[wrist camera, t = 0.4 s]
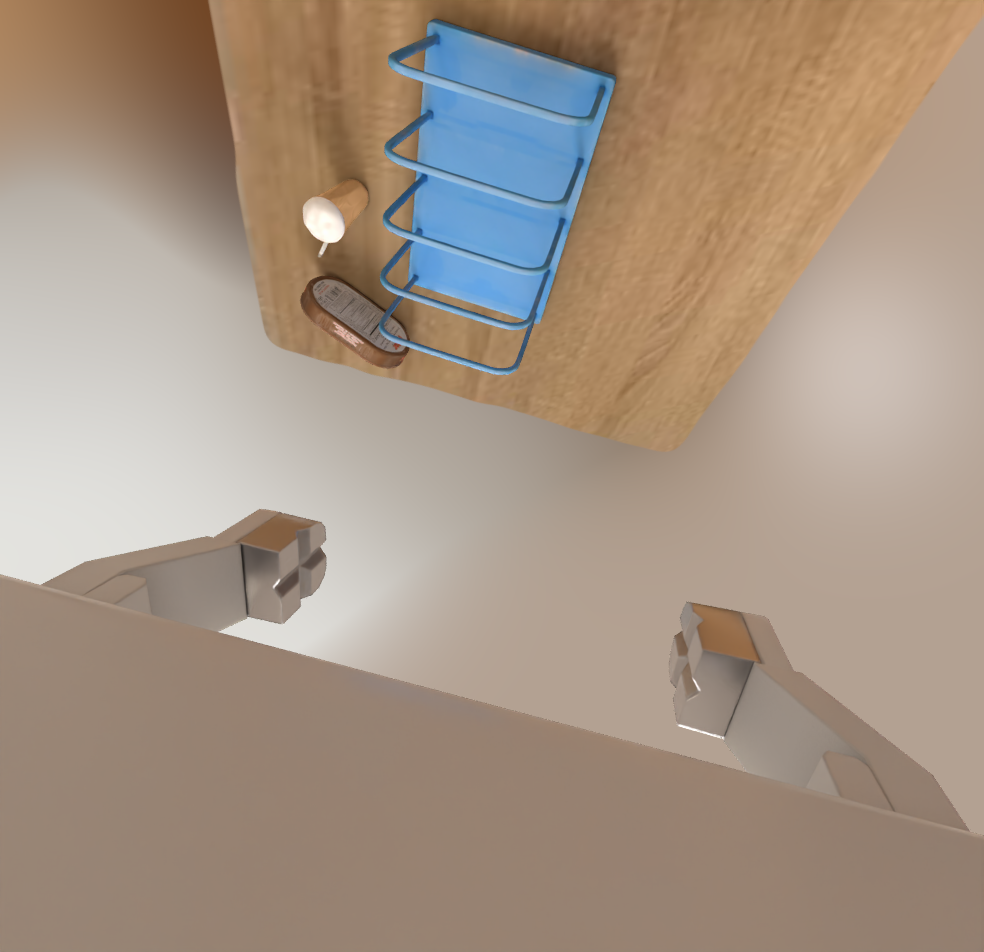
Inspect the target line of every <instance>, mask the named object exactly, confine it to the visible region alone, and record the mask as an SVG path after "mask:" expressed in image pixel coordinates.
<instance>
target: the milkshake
mask: <svg viewBox="0 0 984 952" xmlns="http://www.w3.org/2000/svg"><path fill="white" fill-rule="evenodd" d="M368 202H369V201H368V192H367V190H366V189H365V187H364V185H363V184H362V183H360V182H359V181H357V180H355V179H351V180H346V181H344V182H342V183H340V184H338V185H336V186H335V187H333V188H331V189H329V190H327V191H325V192H323V193H321V194H319V195H317V196H315V197H313V198H311V199H309V200H308V201H307V202H306V203H305V205H304V207H303V219H304V223H305V225H306V227H307V228H308V229H309V231H310V232H311V233H312V235H313V236H314V237H316V238H317V239H319V240H321V241H324V243H323V245H322V248H321V250H320V252H319V254H318V257H322V255H323V253H324V251H325V249H326V247H327V245H328V243H334V242H337V241H339V240H340V239H341V238H342V236H343V235H344V234H345V232H346V231H347V230H348V228H349V227H350V225H351V224H352V222H353V221H354V220H355V219H356V218H357V216H358V215H359V214H360V213H361V212H362V211H363V209H364V208H365V206H366V205H367V204H368Z"/></svg>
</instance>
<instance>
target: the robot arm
mask: <svg viewBox="0 0 984 952" xmlns="http://www.w3.org/2000/svg"><path fill="white" fill-rule="evenodd" d="M325 541H326V532H325V526H324V525H323V524H322V523H321V522H318V521H314V520H310V519H306V518H301V517H297V516H293V515H289V514H285V513H284V514H283V513H281V512H276V511H271V510H266V509H259V510H257V511H256V512H254V513H253V514H251V515H249V516H248V517H246V518H244V519H243V520H241V521H240V522H238V523H236V524H235V525H233V526H231V527H230V528H228V529H227V530H225V531H223V532H222V533H220V534H218V535H217V536H216V537H214V538H213V537H208V536H206V537H201V538H197V539H192V540H187V541H182V542H178V543H173V544H168V545H164V546H159V547H154V548H149V549H144V550H139V551H134V552H130V553H125V554H120V555H115V556H111V557H106V558H101V559H97V560H91V561H87V562H84V563H82V564H80V565H78V566H76V567H74V568H73V569H71V570H69V571H67V572H65V573H63V574H61V575H59V576H57V577H55V578H53V579H51V580H49V581H47V582H45V583H43V584H42V585H38V584H34V583H31V582H27V581H23V580H19V579H16V578H12V577H8V576H4V575H0V952H984V835H980V834H976V833H973V832H970V831H969V829H968V828H967V826H966V825H965V823H964V822H963V820H962V819H961V817H960V816H959V814H958V813H957V811H956V810H955V808H954V807H953V805H952V803H951V802H950V801H949V799H948V797H947V796H946V795H945V793H944V791H943V790H942V788H941V787H940V785H939V784H938V782H937V781H936V779H935V778H934V776H933V775H932V774H931V773H929V772H928V771H927V770H925V769H924V768H923V767H922V766H920V765H919V764H918V763H916V762H915V761H914V760H913V759H911V758H910V757H909V756H908V755H906V754H905V753H904V752H902V751H901V750H900V749H898V748H897V747H896V746H895V745H893V744H892V743H891V742H890V741H888V740H887V739H886V738H885V737H883V736H882V735H881V734H879V733H878V732H877V731H876V730H874V729H873V728H872V727H870V726H869V725H868V724H867V723H865V722H864V721H863V720H862V719H860V718H859V717H858V716H856V715H855V714H854V713H853V712H851V711H850V710H849V709H847V708H846V707H845V706H844V705H842V704H841V703H840V702H839V701H837V700H836V699H835V698H833V697H832V696H831V695H829V694H828V693H827V692H826V691H824V690H823V689H822V688H821V687H819V686H818V685H817V684H815V683H814V682H813V681H811V680H810V679H809V678H808V677H806V676H805V675H804V674H803V673H800V672H795V671H794V670H793V669H792V666H791V664H790V662H789V660H788V658H787V656H786V654H785V652H784V650H783V648H782V646H781V644H780V642H779V640H778V638H777V636H776V634H775V632H774V630H773V627H772V625H771V623H770V621H769V619H767V618H766V617H765V616H761V615H755V614H750V613H744V612H738V611H733V610H728V609H723V608H717V607H712V606H707V605H701V604H696V603H691V602H687V603H686V604H685V606H684V608H683V611H682V614H681V617H680V620H681V626H682V631H681V632H680V633H678V634H677V635H675V636H674V640H673V644H672V648H671V653H670V660H669V674H670V682H671V683H672V684H673V685H674V686H675V688H676V691H675V694H674V697H673V702H674V708H675V715H676V721H677V726H681V727H684V728H688V729H691V730H695V731H698V732H702V733H705V734H709V735H712V736H716V737H719V738H723V739H724V742H725V743H726V745H727V746H728V747H729V749H730V750H731V751H732V753H733V754H734V756H735V757H736V758H737V759H738V761H739V762H740V763H741V765H742V766H743V767H744V769H745V770H746V771H747V772H743V771H739V770H736V769H732V768H728V767H724V766H721V765H717V764H713V763H709V762H705V761H702V760H698V759H694V758H691V757H687V756H682V755H679V754H675V753H672V752H668V751H664V750H660V749H657V748H653V747H649V746H645V745H642V744H638V743H634V742H630V741H626V740H622V739H619V738H615V737H611V736H608V735H604V734H600V733H596V732H593V731H588V730H585V729H581V728H577V727H574V726H570V725H566V724H562V723H559V722H555V721H551V720H547V719H543V718H539V717H536V716H532V715H528V714H525V713H521V712H517V711H513V710H509V709H506V708H502V707H498V706H494V705H491V704H487V703H483V702H479V701H475V700H472V699H468V698H464V697H460V696H457V695H453V694H449V693H445V692H442V691H438V690H434V689H430V688H426V687H423V686H419V685H415V684H411V683H407V682H404V681H400V680H396V679H392V678H388V677H385V676H381V675H377V674H374V673H370V672H366V671H362V670H358V669H354V668H351V667H347V666H344V665H340V664H336V663H332V662H328V661H325V660H321V659H317V658H313V657H309V656H306V655H302V654H298V653H294V652H291V651H287V650H283V649H279V648H276V647H272V646H268V645H264V644H260V643H257V642H253V641H249V640H246V639H242V638H238V637H234V636H230V635H227V634H223V633H219V632H218V631H221V630H223V629H225V628H227V627H229V626H232V625H234V624H236V623H238V622H240V621H243V620H245V619H247V617H252V618H256V619H261V620H265V621H269V622H274V623H278V624H284V623H285V622H286V621H287V620H288V619H289V618H290V617H291V616H292V615H293V614H294V613H295V612H296V611H297V610H298V609H299V608H300V606H301V602H300V599H302V598H305V597H308V596H311V595H312V594H313V593H314V592H315V591H316V590H317V589H318V588H319V586H320V584H321V582H322V580H323V578H324V575H325V571H326V555H325V554H324V552H323V551H322V549H321V548H320V546H321V545H322V544H323V543H324V542H325Z"/></svg>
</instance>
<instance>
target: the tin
mask: <svg viewBox="0 0 984 952" xmlns="http://www.w3.org/2000/svg"><path fill="white" fill-rule="evenodd" d="M300 300H301V307H302V309H303V311H304V313H305V315H306V316H307V317H308V318H309V320H310V321H311V322H312V323H314V324H315V325H316V326H317V327H319V328H320V329H322V330H323V331H324V332H326V333H327V334H329V335H330V336H331V337H333V338H334V339H336V340H337V341H339V342H340V343H342V344H343V345H344V346H346V347H347V348H349V349H350V350H351V351H353V352H354V353H355V354H357V355H358V356H360V357H361V358H362V359H364V360H365V361H367V362H368V363H370V364H372V365H375V366H378V367H381V368H394V367H397V366H399V365H400V364H401V363H402V361H403V359H404V357H405V356H406V354H407V353H408V351H409V348H410V347H407V346H404V345H400V344H398V343H395V342H392V341H390V340H388V339H387V338H386V337H384V336H383V335H382V334H381V332H380V330H379V322H380V320H381V318H382V317H383V315H384V314H385V311H384V310H383V309H381V308H380V307H379V306H377V305H376V304H375V303H373V302H372V301H371V300H369V299H368V298H367V297H365V296H364V295H363V294H361V293H360V292H359V291H357V290H356V289H355V288H353V287H352V286H351V285H349V284H348V283H346V282H344V281H342V280H340V279H337V278H334V277H330V276H319V277H316V278H314V279H312V280H311V281H310V282H309V283H308V285H307V287H306V289H305V291H304V292H303V294H302V295H301V299H300ZM384 327H385V329H386V330H387V331H388V332H389V333H390V334H392V335H394V336H397V337H399V338H402V339H406V340H408V341H410V339H409V336H408V334H407V332H406V330H405V329H404V327H403V326H402V325H401V324H400V323H399V322H398V321H397V320H396V319H395V318H393V317H392V316H391V315H390V317H389V318H388V319H387V321H386V322H385V324H384Z"/></svg>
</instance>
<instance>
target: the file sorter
mask: <svg viewBox="0 0 984 952" xmlns="http://www.w3.org/2000/svg"><path fill="white" fill-rule="evenodd" d="M424 49H426V50H425V63H424V71H421V70H418V69H415V68H412V67H409V66H406V65H404V64H402V63H400V61H402V60H404V59H406V58H408V57H410V56H412V55H414V54H416V53H418V52H420V51H422V50H424ZM388 64H389V66H390V67H391V69H393V70H394V71H396V72H398V73H400V74H402V75H404V76H407V77H410V78H413V79H416V80H419V81H422V82H423V91H422V104H421V116H420V117H419V118H418V119H416V120H415V121H414V122H412V123H411V124H410V125H408V126H407V127H406V128H404V129H403V130H402V131H400V132H399V133H398V134H396V135H395V136H394V137H392V138H391V139H390V140H389V141H388V142H386V144H385V154H386V156H387V157H388V158H389V159H390V160H391V161H393V162H394V163H397V164H399V165H401V166H404V167H407V168H410V169H413V170H416V182H414V183H413V184H412V185H411V186H410V187H409V188H408V189H407V190H406V191H405V192H404V193H403V194H402V195H401V196H400V197H399V198H398V199H397V200H396V201H395V202H394V203H393V204H392V205H391V206H390V207H389V208H388V209H387V210H386V211H385V213H384V215H383V224H384V226H385V227H386V228H387V229H388V230H389V231H391V232H392V233H394V234H396V235H398V236H401V237H404V238H407V239H408V240H407V242H406V243H405V244H404V245H403V246H402V247H401V248H400V250H399V251H398V252H397V253H396V254H395V255H394V256H393V258H392V259H391V260H390V261H389V262H388V264H387V265H386V266H385V267H384V268H383V270H382V271H381V274H380V281H381V283H382V285H383V286H384V287H385V288H386V289H387V290H389V291H390V292H392V293H394V294H397V295H398V297H397V298H396V299H395V300H394V302H393V303H392V304H391V306H390V307H389V308H388V310H387V311H386V312H385V314H384V315H383V317H382V318H381V320H380V322H379V330H380V332H381V334H382V335H383V336H384V337H386V338H387V339H388V340H390V341H392V342H395V343H398V344H400V345H404V346H407V347H410V348H413V349H416V350H419V351H422V352H425V353H428V354H431V355H434V356H437V357H440V358H444V359H447V360H450V361H453V362H456V363H459V364H462V365H466V366H469V367H472V368H475V369H478V370H481V371H485V372H488V373H492V374H497V375H505V374H510V373H513V372H514V371H516V370H517V369H518V367H519V365H520V363H521V360H522V357H523V354H524V351H525V348H526V346H527V343H528V340H529V337H530V334H531V331H532V328H533V325H534V323H536V324H538V323H540V321H541V319H542V316H543V313H544V309H545V306H546V303H547V299H548V296H549V293H550V290H551V287H552V283H553V280H554V277H555V274H556V271H557V268H558V264H559V261H560V258H561V255H562V252H563V248H564V245H565V242H566V239H567V236H568V233H569V229H570V226H571V223H572V220H573V217H574V214H575V210H576V207H577V204H578V201H579V198H580V194H581V191H582V188H583V185H584V182H585V179H586V175H587V172H588V169H589V166H590V163H591V159H592V156H593V153H594V150H595V147H596V144H597V140H598V137H599V134H600V131H601V128H602V124H603V121H604V118H605V115H606V112H607V109H608V105H609V102H610V99H611V96H612V93H613V90H614V87H615V83H616V77H615V76H614V75H612V74H608V73H605V72H602V71H599V70H595V69H592V68H589V67H586V66H583V65H580V64H576V63H573V62H570V61H567V60H564V59H561V58H558V57H554V56H551V55H548V54H545V53H542V52H538V51H535V50H532V49H529V48H526V47H522V46H519V45H516V44H513V43H510V42H507V41H503V40H500V39H497V38H494V37H491V36H488V35H485V34H482V33H478V32H475V31H472V30H469V29H465V28H462V27H459V26H456V25H453V24H450V23H447V22H444V21H441V20H438V19H434V20H432V21H430V22H429V23H428V25H427V37H426V38H424V39H422V40H420V41H417V42H415V43H413V44H411V45H408V46H406V47H404V48H401V49H399V50H397V51H395V52H393V53H391V54H390V55H389V57H388ZM419 127H420V131H419V143H418V157H417V162H416V161H413V160H410V159H407V158H404V157H402V156H400V155H398V154H396V153H395V152H393V151H392V149H393V148H394V147H396V146H397V145H398V144H399V143H401V142H402V141H403V140H404V139H406V138H407V137H408V136H410V135H411V134H412V133H413V132H414V131H416V130H417V129H418V128H419ZM414 192H415V196H414V210H413V223H412V232H410V231H407V230H404V229H401V228H399V227H397V226H395V225H394V224H392V223H391V222H390V221H389V219H390V218H391V216H392V215H393V214H394V213H395V212H396V211H397V210H398V209H399V208H400V207H401V205H403V204H404V203H405V202H406V201H407V199H408V198H409V197H410V196H411V195H412V194H413V193H414ZM410 246H411V250H410V262H409V275H408V281H409V282H408V284H407V285H406V286H405V287H404V289H400V288H398V287H395V286H394V285H392V284H390V283H389V282H388V281H387V280H386V275H387V274H388V272H389V271H390V270H391V269H392V267H393V266H394V265H395V264H396V263H397V262H398V260H399V259H400V258H401V257H402V256H403V254H404V253H405V252H406V251H407V250H408V248H409V247H410ZM413 285H417V286H420V287H423V288H426V289H430V290H433V291H436V292H439V293H442V294H445V295H448V296H451V297H455V298H458V299H461V300H464V301H467V302H470V303H473V304H477V305H480V306H483V307H486V308H489V309H492V310H495V311H499V312H502V313H505V314H508V315H511V316H514V317H518V318H521V319H524V320H525V321H523V322H519V323H509V322H504V321H500V320H497V319H494V318H491V317H487V316H484V315H481V314H478V313H475V312H471V311H468V310H465V309H462V308H459V307H456V306H453V305H449V304H446V303H443V302H440V301H437V300H434V299H431V298H428V297H425V296H422V295H418V294H415V293H413V292H409V290H410V288H411V287H412V286H413ZM404 297H406V298H409V299H412V300H415V301H418V302H421V303H424V304H427V305H430V306H433V307H436V308H439V309H442V310H446V311H449V312H452V313H455V314H458V315H461V316H464V317H467V318H470V319H474V320H477V321H480V322H483V323H487V324H490V325H493V326H496V327H500V328H504V329H509V330H518V329H523V328H526V327H528V329H527V332H526V335H525V338H524V340H523V343H522V346H521V349H520V352H519V355H518V357H517V360H516V362H515V364H514V365H513V366H511V367H509V368H493V367H490V366H486V365H483V364H480V363H477V362H474V361H471V360H467V359H464V358H461V357H458V356H455V355H452V354H448V353H445V352H442V351H439V350H436V349H433V348H430V347H427V346H424V345H421V344H417V343H414V342H411V341H408V340H406V339H402V338H399V337H397V336H394V335H392V334H390V333H389V332H388V331H387V330H386V329H385V327H384V324H385V322H386V321H387V319H388V318H389V317H390V315H391V314H392V312H393V311H394V310H395V308H396V307H397V306H398V304H399V303H400V302H401V300H402V299H403V298H404Z"/></svg>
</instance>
